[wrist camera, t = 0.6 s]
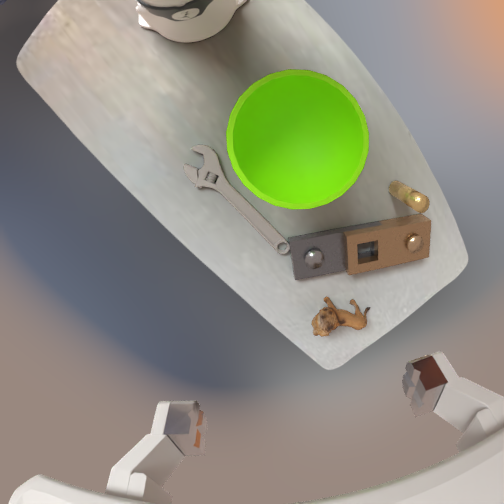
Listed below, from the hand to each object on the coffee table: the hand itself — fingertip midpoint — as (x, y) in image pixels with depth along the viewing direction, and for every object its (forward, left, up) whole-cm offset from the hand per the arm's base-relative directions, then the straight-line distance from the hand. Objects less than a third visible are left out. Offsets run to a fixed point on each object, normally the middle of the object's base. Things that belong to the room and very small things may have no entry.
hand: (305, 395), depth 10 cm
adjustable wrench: (+5, -5, -44) cm, 45 cm away
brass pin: (+7, +25, -44) cm, 51 cm away
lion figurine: (+31, +11, -44) cm, 55 cm away
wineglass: (-6, +5, -44) cm, 44 cm away
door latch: (+17, +17, -44) cm, 50 cm away
